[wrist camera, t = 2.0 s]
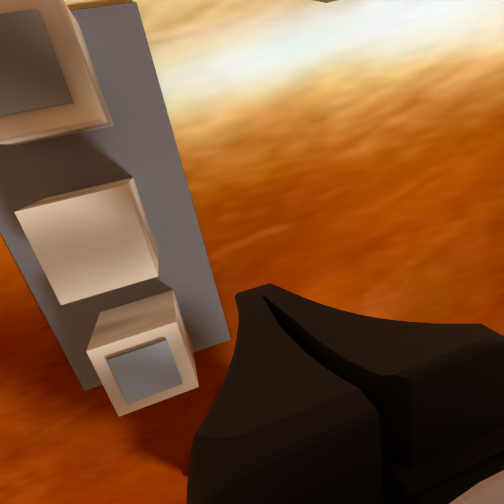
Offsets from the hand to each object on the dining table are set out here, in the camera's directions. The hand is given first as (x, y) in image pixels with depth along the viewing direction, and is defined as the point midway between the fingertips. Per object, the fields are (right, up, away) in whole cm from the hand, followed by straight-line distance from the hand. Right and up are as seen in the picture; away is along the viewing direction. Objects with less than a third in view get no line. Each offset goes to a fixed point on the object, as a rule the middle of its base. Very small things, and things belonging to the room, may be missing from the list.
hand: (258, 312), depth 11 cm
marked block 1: (-10, +10, +4) cm, 15 cm away
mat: (-9, +4, +7) cm, 12 cm away
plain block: (-8, +4, +7) cm, 11 cm away
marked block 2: (-7, -3, +9) cm, 12 cm away
